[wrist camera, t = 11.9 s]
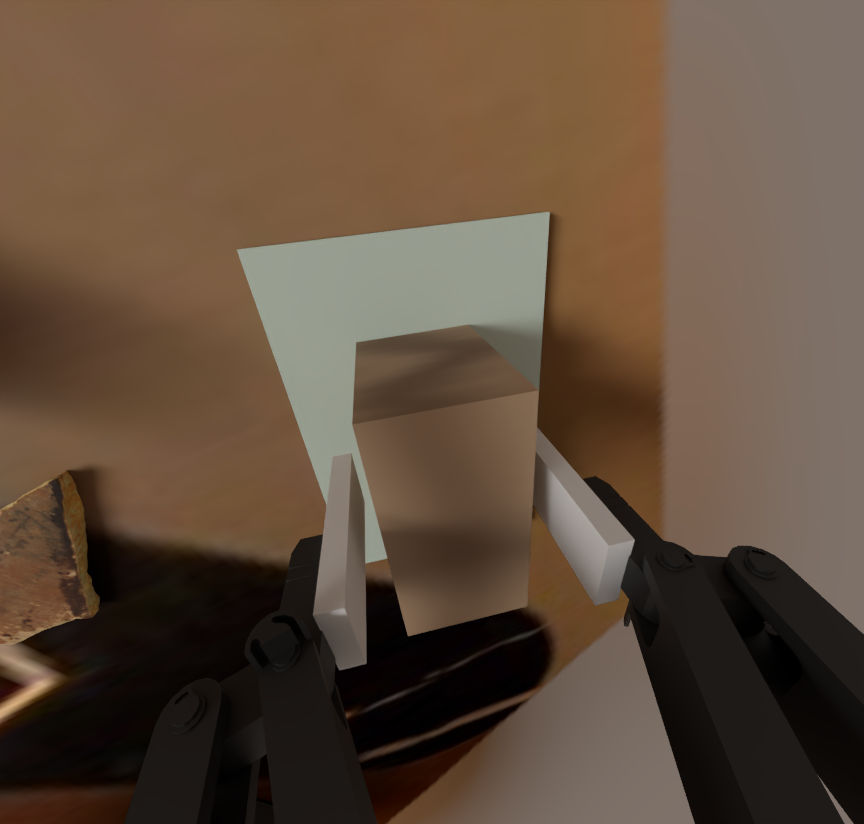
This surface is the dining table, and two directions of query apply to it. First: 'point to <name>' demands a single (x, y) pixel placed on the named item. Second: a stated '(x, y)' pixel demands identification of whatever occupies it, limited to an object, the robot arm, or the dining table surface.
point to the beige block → (448, 471)
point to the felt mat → (392, 314)
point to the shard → (44, 561)
